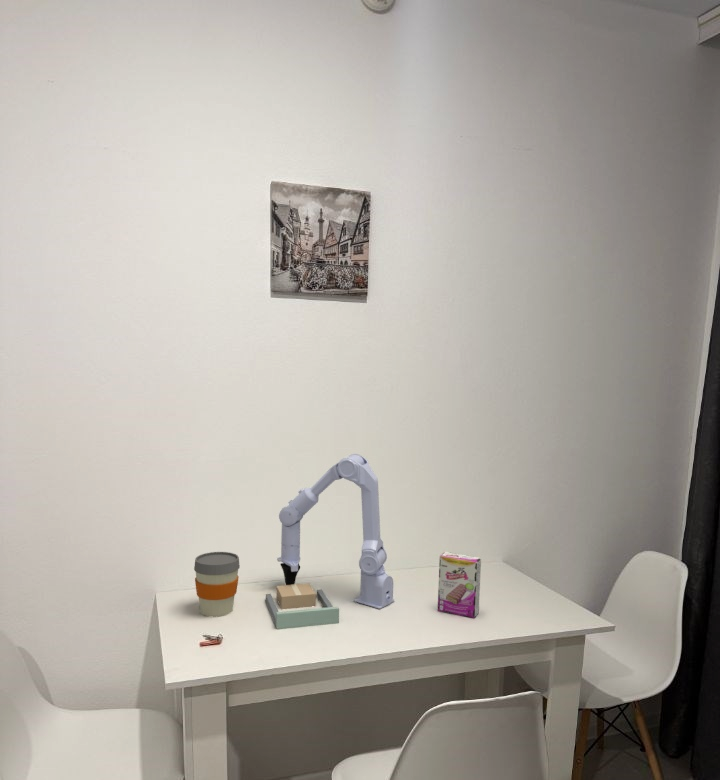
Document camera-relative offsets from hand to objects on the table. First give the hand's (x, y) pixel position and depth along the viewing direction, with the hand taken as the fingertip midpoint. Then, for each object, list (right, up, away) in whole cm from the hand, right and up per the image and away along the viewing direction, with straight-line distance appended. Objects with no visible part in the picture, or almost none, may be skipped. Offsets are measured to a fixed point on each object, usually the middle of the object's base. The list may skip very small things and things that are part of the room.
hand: (289, 587), depth 197 cm
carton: (+3, -2, -9) cm, 10 cm away
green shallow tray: (+5, -2, -16) cm, 17 cm away
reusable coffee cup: (-19, -2, -17) cm, 25 cm away
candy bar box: (+50, -3, -14) cm, 52 cm away
